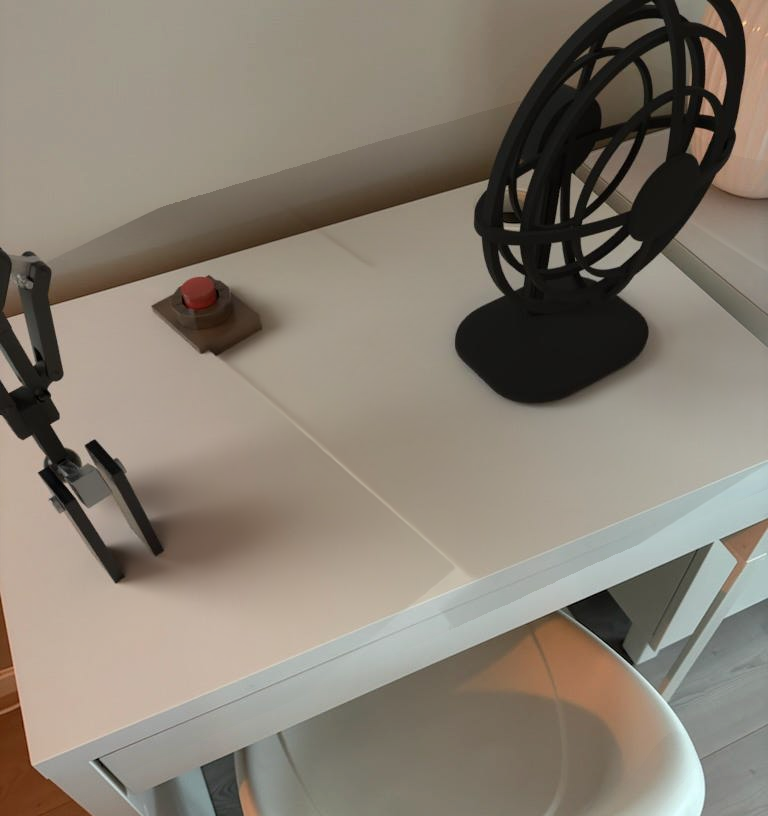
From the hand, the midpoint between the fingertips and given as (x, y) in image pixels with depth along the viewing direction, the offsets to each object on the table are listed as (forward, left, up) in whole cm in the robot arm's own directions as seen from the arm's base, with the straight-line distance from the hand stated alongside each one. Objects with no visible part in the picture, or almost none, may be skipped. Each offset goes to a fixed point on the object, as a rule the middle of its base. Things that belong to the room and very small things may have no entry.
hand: (53, 451), depth 65 cm
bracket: (+9, 0, -8) cm, 12 cm away
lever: (+5, 0, -1) cm, 5 cm away
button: (-13, +23, -4) cm, 27 cm away
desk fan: (+17, +48, -8) cm, 51 cm away
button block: (-13, +23, -8) cm, 28 cm away
